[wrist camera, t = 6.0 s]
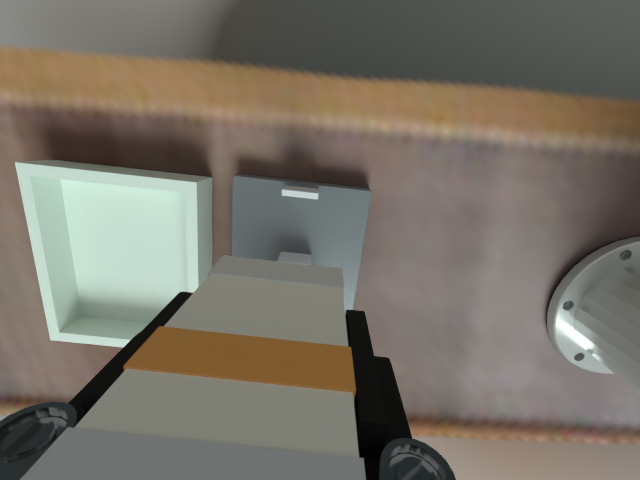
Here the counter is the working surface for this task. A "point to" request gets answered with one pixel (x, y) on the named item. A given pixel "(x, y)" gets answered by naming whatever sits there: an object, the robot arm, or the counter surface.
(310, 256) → the block
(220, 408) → the block
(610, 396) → the counter surface
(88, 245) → the tray
